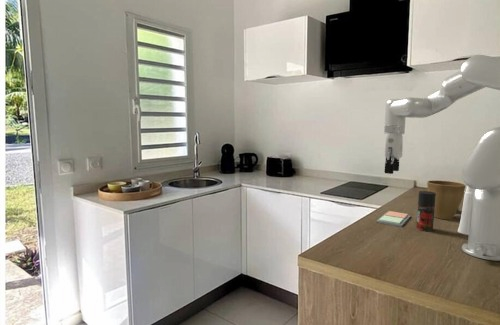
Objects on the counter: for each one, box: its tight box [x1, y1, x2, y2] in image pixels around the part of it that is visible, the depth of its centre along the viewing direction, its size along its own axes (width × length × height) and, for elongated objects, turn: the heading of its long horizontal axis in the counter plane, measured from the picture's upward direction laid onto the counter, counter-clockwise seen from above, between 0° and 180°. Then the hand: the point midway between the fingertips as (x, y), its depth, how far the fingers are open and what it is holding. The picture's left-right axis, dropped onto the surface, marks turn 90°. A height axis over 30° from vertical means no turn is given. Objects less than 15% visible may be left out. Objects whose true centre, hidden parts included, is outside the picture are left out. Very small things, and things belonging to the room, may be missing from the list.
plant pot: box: [426, 180, 467, 221], centre depth 147 cm, size 15×15×16 cm
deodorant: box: [415, 190, 436, 232], centre depth 131 cm, size 6×6×15 cm
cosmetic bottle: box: [457, 185, 474, 236], centre depth 126 cm, size 6×6×22 cm
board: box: [375, 210, 411, 228], centre depth 144 cm, size 18×10×1 cm, turn 143°
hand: (391, 172), depth 134 cm, fingers open, 9 cm apart
